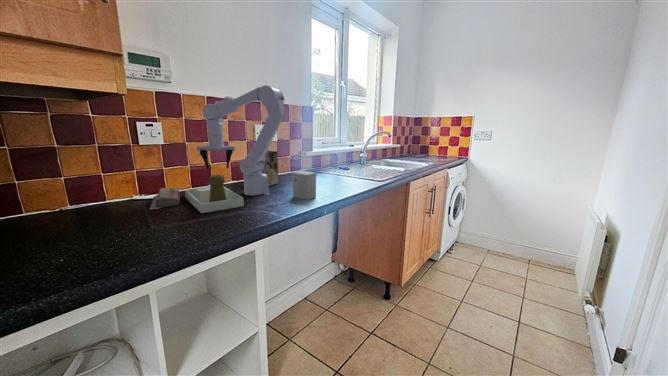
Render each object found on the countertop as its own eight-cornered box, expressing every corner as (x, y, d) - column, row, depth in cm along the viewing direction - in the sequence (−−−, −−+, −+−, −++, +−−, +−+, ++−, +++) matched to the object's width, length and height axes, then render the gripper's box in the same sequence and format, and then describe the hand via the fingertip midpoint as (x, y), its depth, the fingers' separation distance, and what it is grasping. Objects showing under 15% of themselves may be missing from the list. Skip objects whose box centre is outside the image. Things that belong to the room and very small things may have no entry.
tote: (223, 195, 115) (222, 185, 114) (243, 208, 98) (243, 197, 97) (185, 200, 106) (184, 190, 105) (201, 216, 90) (200, 204, 89)
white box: (217, 195, 110) (217, 185, 109) (222, 198, 106) (222, 188, 105) (196, 198, 105) (195, 188, 104) (200, 202, 101) (199, 191, 100)
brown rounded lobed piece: (218, 209, 93) (215, 177, 90) (204, 207, 95) (202, 175, 93) (231, 205, 98) (229, 174, 96) (218, 202, 101) (216, 172, 98)
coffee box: (269, 181, 142) (268, 150, 138) (278, 183, 139) (278, 151, 135) (255, 185, 134) (254, 151, 130) (265, 186, 131) (264, 152, 127)
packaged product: (153, 187, 106) (182, 185, 110) (154, 199, 107) (183, 197, 111) (147, 199, 90) (182, 196, 95) (149, 213, 91) (183, 210, 96)
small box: (316, 197, 115) (316, 172, 113) (307, 200, 111) (308, 174, 108) (301, 194, 119) (301, 170, 117) (292, 197, 115) (292, 172, 112)
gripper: (194, 135, 107) (197, 170, 110) (234, 136, 111) (236, 169, 115) (196, 134, 113) (199, 167, 116) (234, 135, 118) (236, 166, 121)
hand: (217, 168), depth 116 cm, fingers open, 7 cm apart
